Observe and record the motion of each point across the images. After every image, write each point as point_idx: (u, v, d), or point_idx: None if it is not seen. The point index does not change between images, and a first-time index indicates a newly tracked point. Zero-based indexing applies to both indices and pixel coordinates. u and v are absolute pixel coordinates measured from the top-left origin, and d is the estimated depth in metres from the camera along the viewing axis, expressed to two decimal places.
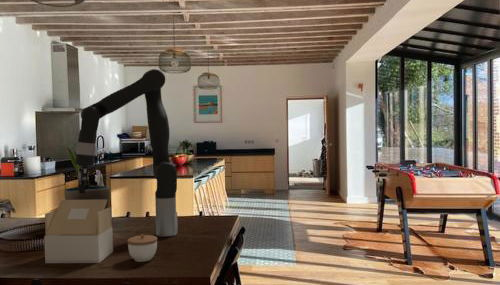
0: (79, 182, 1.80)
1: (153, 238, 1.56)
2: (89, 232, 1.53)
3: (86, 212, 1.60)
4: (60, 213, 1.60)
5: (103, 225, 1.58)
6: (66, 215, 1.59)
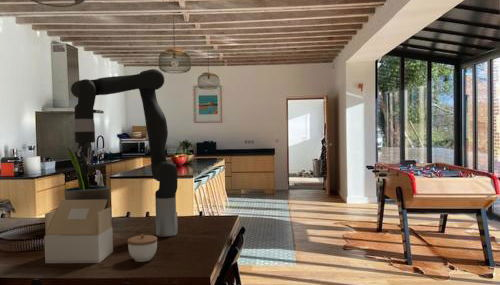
0: None
1: (153, 238, 1.56)
2: (89, 232, 1.53)
3: (86, 212, 1.60)
4: (60, 213, 1.60)
5: (103, 225, 1.58)
6: (66, 215, 1.59)
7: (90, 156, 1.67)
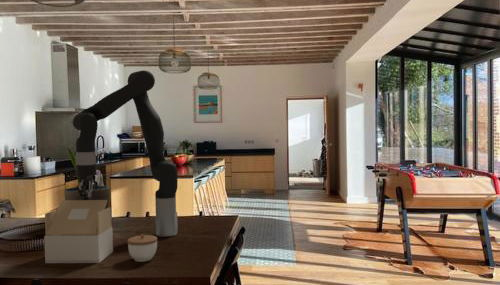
0: None
1: (153, 238, 1.56)
2: (89, 232, 1.53)
3: (86, 212, 1.60)
4: (60, 213, 1.60)
5: (103, 225, 1.58)
6: (67, 216, 1.59)
7: (91, 188, 1.68)
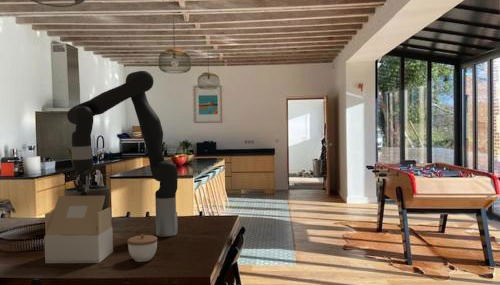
0: None
1: (153, 238, 1.56)
2: (89, 232, 1.53)
3: (85, 209, 1.59)
4: (58, 211, 1.59)
5: (103, 225, 1.58)
6: (65, 213, 1.58)
7: (88, 183, 1.66)
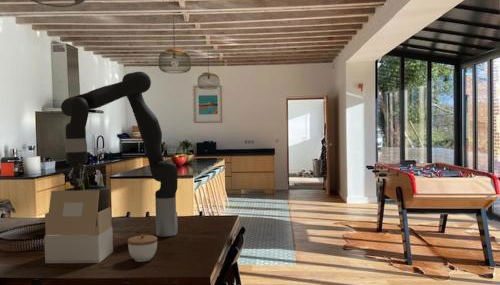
0: None
1: (153, 238, 1.56)
2: (89, 233, 1.53)
3: (80, 207, 1.55)
4: (53, 208, 1.55)
5: (103, 225, 1.58)
6: (61, 211, 1.55)
7: (82, 177, 1.60)
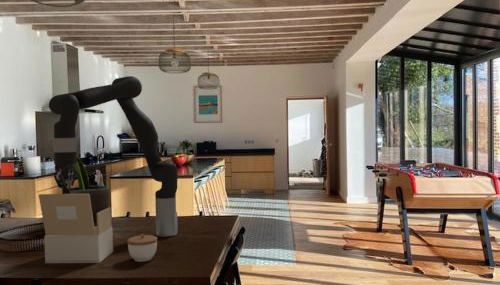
0: None
1: (153, 238, 1.56)
2: (88, 234, 1.52)
3: (74, 210, 1.50)
4: (46, 212, 1.50)
5: (103, 225, 1.58)
6: (55, 215, 1.51)
7: (71, 179, 1.51)
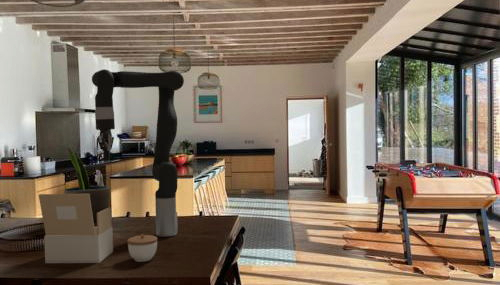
0: None
1: (153, 238, 1.56)
2: (88, 234, 1.52)
3: (74, 210, 1.50)
4: (46, 212, 1.50)
5: (103, 225, 1.58)
6: (55, 215, 1.51)
7: (110, 142, 1.77)
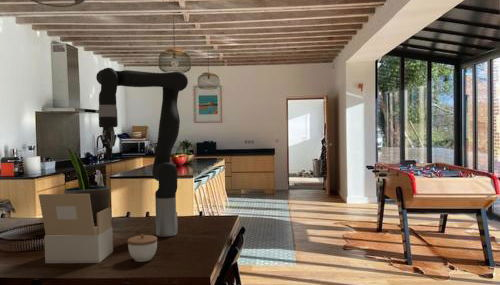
0: None
1: (153, 238, 1.56)
2: (88, 234, 1.52)
3: (74, 210, 1.50)
4: (46, 212, 1.50)
5: (103, 225, 1.58)
6: (55, 215, 1.51)
7: (113, 140, 1.79)
